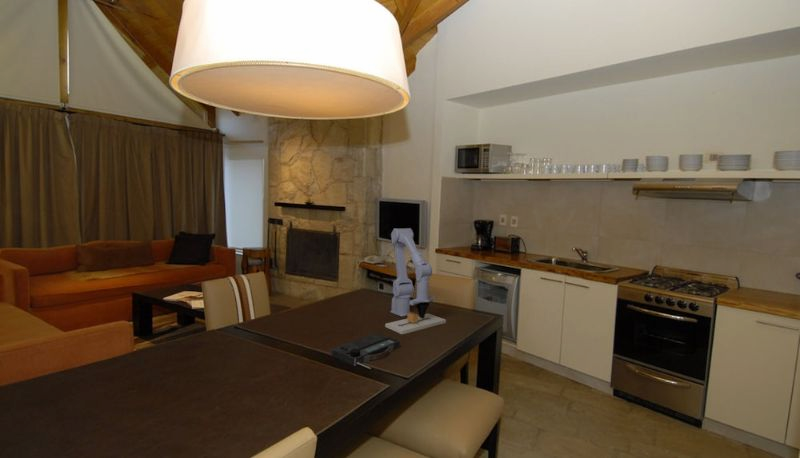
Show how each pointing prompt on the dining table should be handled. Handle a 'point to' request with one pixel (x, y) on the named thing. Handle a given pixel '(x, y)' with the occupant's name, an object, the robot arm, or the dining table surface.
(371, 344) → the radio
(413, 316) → the fader tab
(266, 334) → the dining table surface
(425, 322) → the fader console
